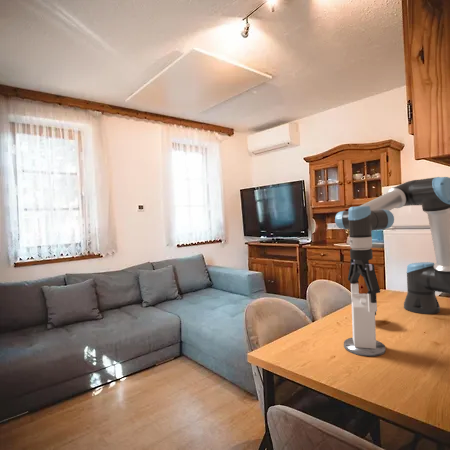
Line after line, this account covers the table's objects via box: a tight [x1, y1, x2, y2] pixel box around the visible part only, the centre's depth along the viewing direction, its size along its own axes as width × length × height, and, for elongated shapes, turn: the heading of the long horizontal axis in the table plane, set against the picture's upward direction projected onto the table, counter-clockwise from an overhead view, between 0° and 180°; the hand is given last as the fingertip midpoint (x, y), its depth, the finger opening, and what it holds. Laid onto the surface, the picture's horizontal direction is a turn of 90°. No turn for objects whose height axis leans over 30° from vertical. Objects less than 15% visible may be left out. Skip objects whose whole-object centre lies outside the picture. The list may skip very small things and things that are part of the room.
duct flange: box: [343, 337, 386, 358], centre depth 116 cm, size 14×14×1 cm
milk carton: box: [351, 293, 377, 349], centre depth 116 cm, size 7×7×19 cm
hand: (363, 305), depth 116 cm, fingers open, 13 cm apart
